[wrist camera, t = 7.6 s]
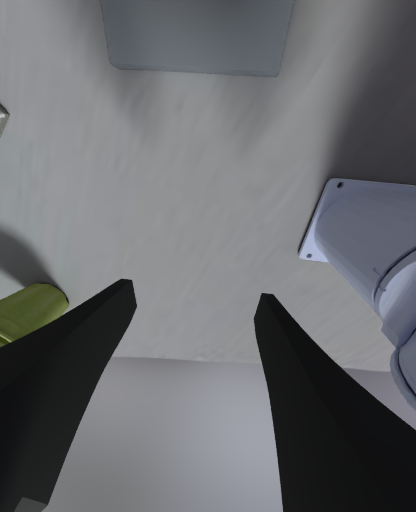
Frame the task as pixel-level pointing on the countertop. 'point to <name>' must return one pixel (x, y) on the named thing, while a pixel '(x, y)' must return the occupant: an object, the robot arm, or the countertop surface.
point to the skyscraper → (3, 119)
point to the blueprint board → (198, 35)
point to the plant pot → (29, 311)
